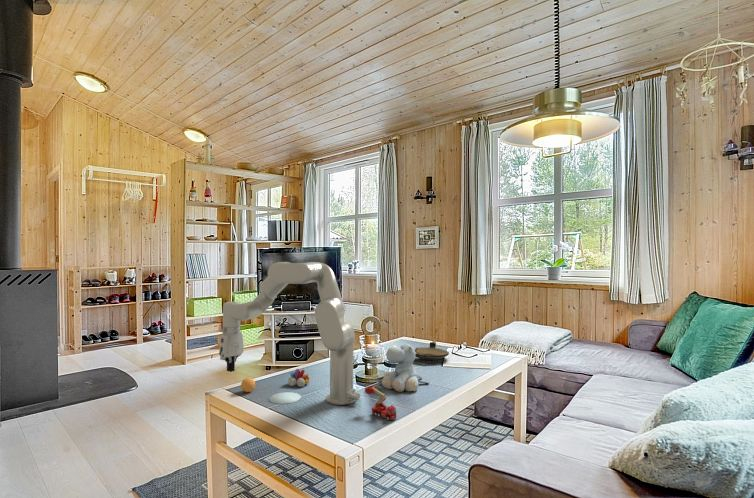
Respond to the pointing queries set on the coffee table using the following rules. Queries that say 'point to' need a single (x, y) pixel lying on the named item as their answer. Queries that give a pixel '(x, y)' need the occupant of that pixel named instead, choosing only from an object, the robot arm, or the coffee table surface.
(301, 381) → the multicolored petal flower toy
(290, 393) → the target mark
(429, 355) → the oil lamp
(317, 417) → the coffee table surface
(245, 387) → the ball
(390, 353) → the hippo plush
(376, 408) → the toy fire truck
